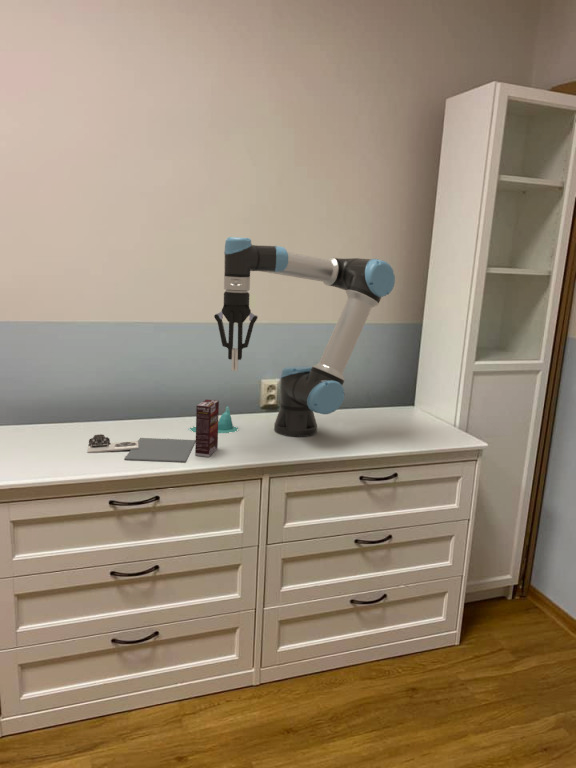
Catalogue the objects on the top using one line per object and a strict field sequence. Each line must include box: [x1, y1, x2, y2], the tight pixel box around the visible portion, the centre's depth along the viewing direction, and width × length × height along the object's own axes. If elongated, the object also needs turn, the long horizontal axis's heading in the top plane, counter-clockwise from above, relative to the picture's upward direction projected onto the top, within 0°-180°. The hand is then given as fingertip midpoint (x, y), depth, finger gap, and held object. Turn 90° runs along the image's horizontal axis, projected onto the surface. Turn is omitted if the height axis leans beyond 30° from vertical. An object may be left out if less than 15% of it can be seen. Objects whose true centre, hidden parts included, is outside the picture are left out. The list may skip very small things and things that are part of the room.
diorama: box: [189, 405, 239, 434], centre depth 212 cm, size 12×20×9 cm, turn 101°
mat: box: [123, 437, 196, 463], centre depth 188 cm, size 18×20×1 cm
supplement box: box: [194, 399, 220, 458], centre depth 186 cm, size 9×5×16 cm, turn 168°
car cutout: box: [86, 433, 139, 454], centre depth 187 cm, size 15×7×4 cm, turn 105°
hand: (234, 370), depth 182 cm, fingers closed
